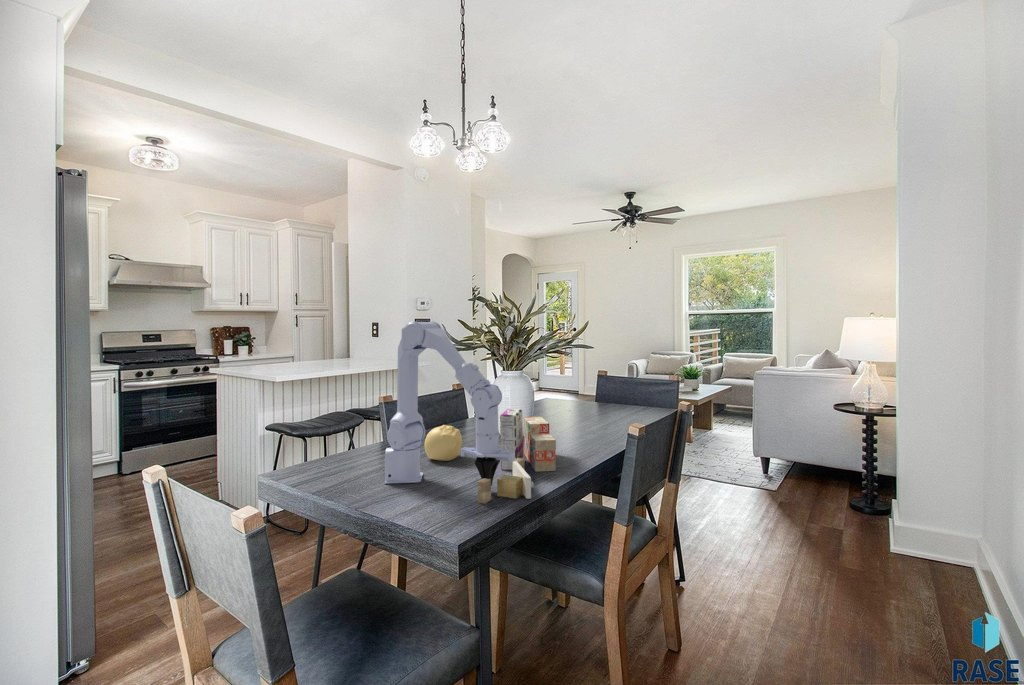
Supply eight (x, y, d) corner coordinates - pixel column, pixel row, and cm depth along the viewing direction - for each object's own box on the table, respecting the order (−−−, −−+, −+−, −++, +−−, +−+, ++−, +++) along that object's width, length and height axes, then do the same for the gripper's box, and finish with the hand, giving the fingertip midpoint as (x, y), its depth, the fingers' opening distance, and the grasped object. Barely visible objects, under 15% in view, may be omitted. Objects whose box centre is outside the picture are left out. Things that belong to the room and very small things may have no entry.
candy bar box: (507, 460, 153) (507, 408, 152) (523, 460, 152) (523, 408, 151) (499, 470, 142) (499, 414, 142) (516, 471, 141) (516, 414, 141)
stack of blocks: (556, 471, 141) (556, 429, 141) (534, 472, 140) (534, 430, 140) (542, 452, 162) (541, 415, 162) (523, 453, 161) (523, 416, 161)
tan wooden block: (497, 497, 120) (497, 479, 120) (504, 492, 123) (504, 474, 123) (516, 500, 118) (515, 481, 117) (522, 494, 121) (522, 477, 121)
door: (526, 498, 117) (526, 478, 117) (512, 479, 132) (512, 461, 132) (535, 497, 118) (534, 477, 118) (520, 479, 133) (520, 461, 132)
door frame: (477, 502, 116) (477, 481, 116) (518, 475, 137) (517, 457, 137) (485, 503, 115) (484, 482, 115) (524, 476, 136) (524, 458, 136)
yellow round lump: (460, 463, 149) (459, 428, 149) (421, 463, 150) (420, 428, 149) (464, 454, 161) (464, 421, 160) (428, 454, 161) (428, 421, 161)
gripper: (454, 434, 122) (454, 487, 123) (506, 439, 116) (506, 495, 116) (468, 428, 129) (468, 479, 129) (518, 433, 122) (518, 486, 123)
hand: (487, 486), depth 123 cm, fingers closed
